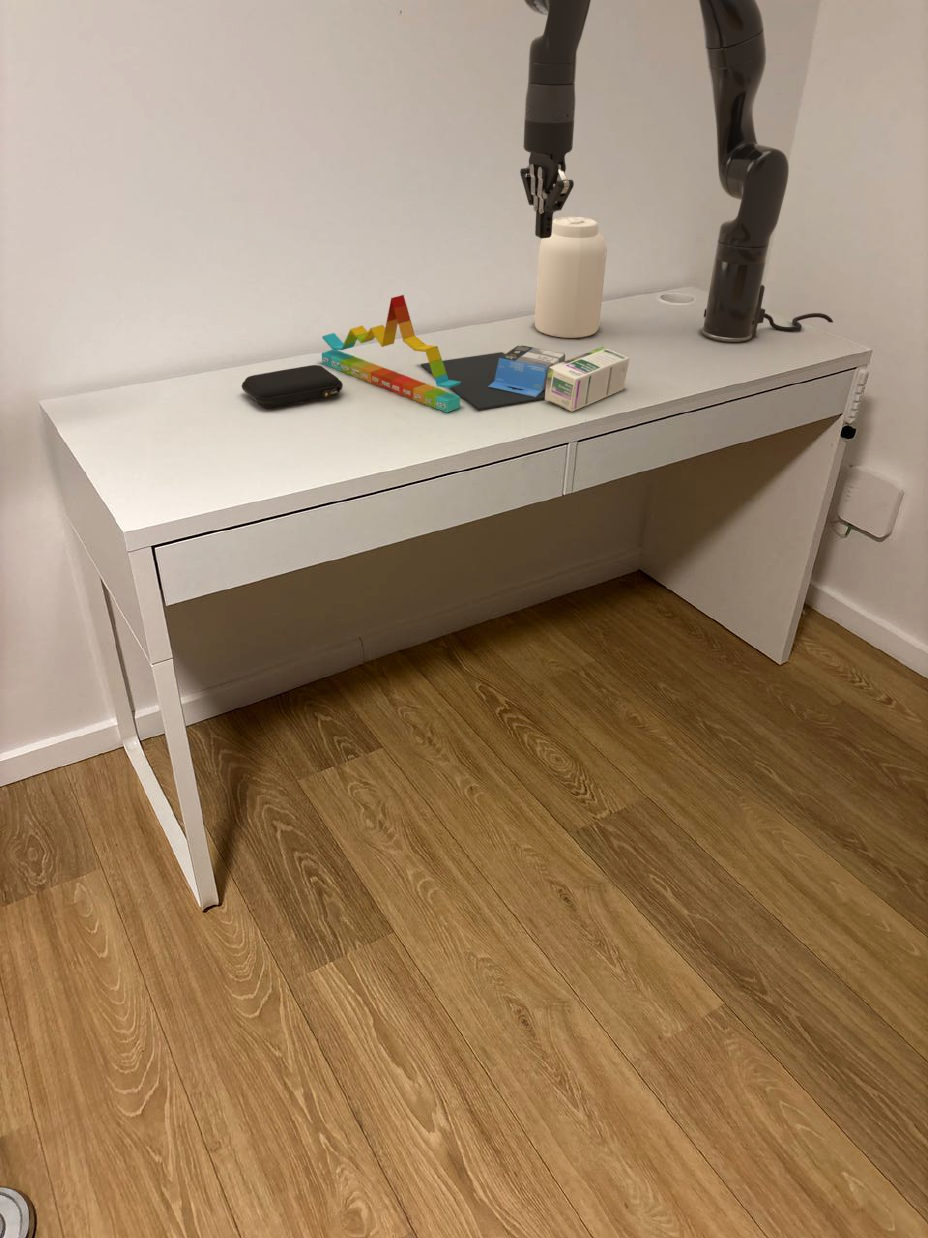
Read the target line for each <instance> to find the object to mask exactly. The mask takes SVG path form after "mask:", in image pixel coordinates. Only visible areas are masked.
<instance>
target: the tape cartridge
mask: <svg viewBox="0 0 928 1238" xmlns="http://www.w3.org/2000/svg"><path fill="white" fill-rule="evenodd" d="M504 354H505V355H503V356H502V357H500V358H499V361H498V366H497V370H496V375H495V380H494V382H493V383H492V384H491V385H489V386H488V387H491V388H496V389H500V390H505V391H509V392H514V393H518V394H523V395H528V396H532V397H536V396H537V395H538V394H539V393H540V392H541V391H543V390H544V389H546V382H547V377H548V371H549V367H551V366H554V365H556V364H559V363H562V362H564V361H566V353H564V352H558V351H553V350H548V349H545V348H544V349H543V348H538V347H534V346H529V345H523V344H518V345H516V346H515V347H514V348H512V349H511V350H509V351H508V352H506V353H504ZM508 387H514V388H519V389H523V390H517V389H516V390H513V389H512V388H508Z"/></svg>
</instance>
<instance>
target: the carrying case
mask: <svg viewBox="0 0 928 1238" xmlns="http://www.w3.org/2000/svg"><path fill="white" fill-rule="evenodd" d="M343 387H344V383H343V381H342V380H340V378H338V377H337V376H336V375H334V373H332V372H330V371H329V370H328V369H326V368H325V367H323V366H321V365H319V364H311V365H306V366H305V365H304V366H300V367H293V368H292V367H291V368H286V369H282V370H275V371H270V372H264V373H258V374H253V375H249V376H247V377H246V378H245V379H244V380H243V382H242V384H241V389H242V391H243V392H244V393H245V394H247V395H248V396H249V397H250V398H251V399H252V400H253V401H255V402H256V403H257V404H258V405H260V406H261V407H263V408H265V409H272V408H278V407H284V406H289V405H295V404H299V403H306V402H311V401H315V400H321V399H325V398H330V397H335V396H337V395H339V394H340V391H342V390H343Z"/></svg>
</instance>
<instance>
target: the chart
mask: <svg viewBox="0 0 928 1238" xmlns="http://www.w3.org/2000/svg"><path fill="white" fill-rule="evenodd" d="M398 328H399V332H400V336H401V338H402V342H403V343H404V344H405V345H407V347H409V348H410V349H412V350H413V351H414V352H421V353H425V355H426V358H427V360H428V363H429V364H430V367H431V370H432V373H433V375H432V376H433V379H434V382H435V384H436V386H434V385H431V384H429V383H425V382H423V381H420V380H418V379H415V378H413V377H410V376H407V375H404V374H402V373H399V372H397V371H394V370H391V369H389V368H386V367H383V366H381V365H378V364H375V363H373V362H371V361H367V360H365V359H363V358H360V357H357V356H354V355H351V354H350V353H346V352H343V351H344V350H347V349H351V348H354V347H355V345H356V342H357V341H358V342H359V343H360V344H364V343H368V342H371V341H373V340H374V339H376V341H377V342H378V343H379V345H380V346H381V348H384V347H387V346H390V345H394V344H395V341H396V335H397V330H398ZM321 336H322V337H321V338H322V340H323V341H324V342H325V343H326V344H327V346H329V348H330V350H326V351H324V352H321V364H322V365H325V366H327V367H329V368H333V369H335V370H336V371H337V370H338V371H340V372H342V373H345V374H347V375H350V376H352V377H355V378H358V379H360V380H362V381H365V382H368V383H370V384H373V385H375V386H378V387H381V388H383V389H385V390H388V391H390V392H392V393H395V394H398V395H401V396H403V397H405V398H407V399H411V400H413V401H415V402H418V403H421V404H423V405H426V406H429V407H431V408H434V409H436V410H439V411H442V412H444V413H450V412H452V411H456V410H458V409H460V408H461V397H460V396H459V395H458V394H456V393H454V392H450V391H448V390H444V389H442V388H446V389H450V387H453V386H456V385H459V384H461V382H460V381H452V380H449V379H448V376H447V373H446V370H445V367H444V364H443V361H444V360H443V358H442V355H441V351H440V350H439V347H438V345H432V344H426V343H424V342H423V341H422V340H421V339H420V338H419V337H418V336H416V334H415V331H414V326H413V324H412V320H411V317H410V313H409V309H408V305H407V302H406V299H405V295H404V294H401V295H398V296H394V297H391V298H390V302H389V307H388V313H387V317H386V322H385V326H384V324H380V325H377V326H373V327H370V328H369V329H368V330H367V329H366V328H365V326H364V325H360V326H356V327H352V328H350V329H349V331H348V333H347V336H346V338H345V340H344V342H343V341H342V340H341V339H340V338H339V337H338V336H337V334H336V333H335V332H332V333H329V334H325V335H321ZM439 387H440V388H439Z"/></svg>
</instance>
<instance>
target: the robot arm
mask: <svg viewBox="0 0 928 1238" xmlns="http://www.w3.org/2000/svg"><path fill="white" fill-rule="evenodd" d="M523 2H524V3H525V5H526V6H527V7H528V8H529V9H530V10H531V11H532V12H534V13H536V14H538V15H541V16H542V15H543V16H546V21H545V26H544V29H543V33H542V34H541V35H539V36H537V37H535V38H534V39H532V40H531V43H530V45H529V51H528V66H527V67H528V68H527V86H526V92H525V100H524V121H523V122H524V123H523V124H524V125H523V149H524V151H525V152H527V153H530V154H529V157H528V165H527V166H526V167H524V168H520V169H519V170H520V171H519V173H520V177H521V182H522V185H523V189H524V193H525V196H526V199H527V203H528V205H529V206H532V207H533V211H534V212H535V228H534V235H535V237H538V238H539V239H542V238H550V237H551V234H552V222H553V220H554V219H553V217H554V213H556V212H559V211H562V209H563V207H564V206H565V203H566V202H567V200H568V198H569V196H570V194H571V192H572V190H573V188H574V186H575V183H574V180H573V179H568V177H567V175H566V170H567V165H566V155H567V154H569V153H570V152H571V151H573V147H574V130H575V116H576V74H577V59H578V57H577V55H578V50H579V47H580V43H581V39H582V37H583V33H584V29H585V25H586V22H587V18H588V14H589V10H590V6H591V2H592V0H523ZM698 4H699V10H700V15H701V22H702V29H703V39H704V47H705V48H704V49H705V54H706V55H705V56H706V62H707V68H708V74H709V78H710V86H711V93H712V102H713V110H714V118H715V129H716V147H717V148H716V149H717V150H716V151H717V152H716V153H717V172H718V180H719V183H720V186H721V188H722V190H723V192H724V193H725V194H726V195H727V196H729V197H731V198H733V199H736V200H739V201H740V205H739V208H738V212H737V215H736V216H735V218H733V219H730V220H726V221H724V222H722V223H721V224H720V226H719V230H718V234H717V241H716V247H715V253H714V260H713V266H712V273H711V277H710V278H711V279H710V283H709V290H708V297H707V302H706V303H707V304H706V308H704V312H703V318H704V321H703V326H702V329H701V333H702V335H703V336H705V337H706V338H708V339H711V340H715V341H719V342H725V343H726V342H727V343H742V342H746V341H749V340H751V339H752V338H754V337H756V336H757V330H758V324H763V323H764V319H766V320H768V323H769V326H770V327H771V328H772V329H774V330H777V331H780V332H781V331H782V332H794V331H800V330H801V329H802V328H803V326H802V324H801V323H800V322H799V321H802V320H806V319H812V318H820V319H824V320H826V321H827V322H828V323H834V321H833V319H832V318H831V317H830V316H829V315H828V314H826V313H822V312H812V313H806V314H802V315H799V316H796V317H794V318H793V319H792V320H791V321H792V324H793V325H794V326H783V325H780V324H777V323H775V322H774V319H773V316H771V315H770V314H768V313H766V309H765V308H763V307H762V304H763V300H764V299H763V298H764V294H765V285H764V284H762V282H763V277H764V272H765V269H766V261H767V258H768V257H767V256H768V252H769V246H770V241H771V237H772V235H773V233H774V231H775V230H776V227H777V225H778V222H779V219H780V215H781V210H782V206H783V204H784V199H785V195H786V190H787V185H788V182H789V173H790V172H789V171H790V170H789V169H790V166H789V161H788V157H787V155H786V154H785V153H784V152H783V151H782V150H781V149H778V148H775V147H772V146H767V145H762V144H759V143H758V140H757V137H756V132H755V122H754V105H755V100H756V97H757V93H758V90H759V88H760V85H761V83H762V81H763V80H762V79H763V76H764V72H765V69H766V65H767V63H766V62H767V50H766V49H767V48H766V47H767V46H766V38H765V28H764V21H763V16H762V13H761V9H760V7H759V5H758V3H757V0H698Z"/></svg>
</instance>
